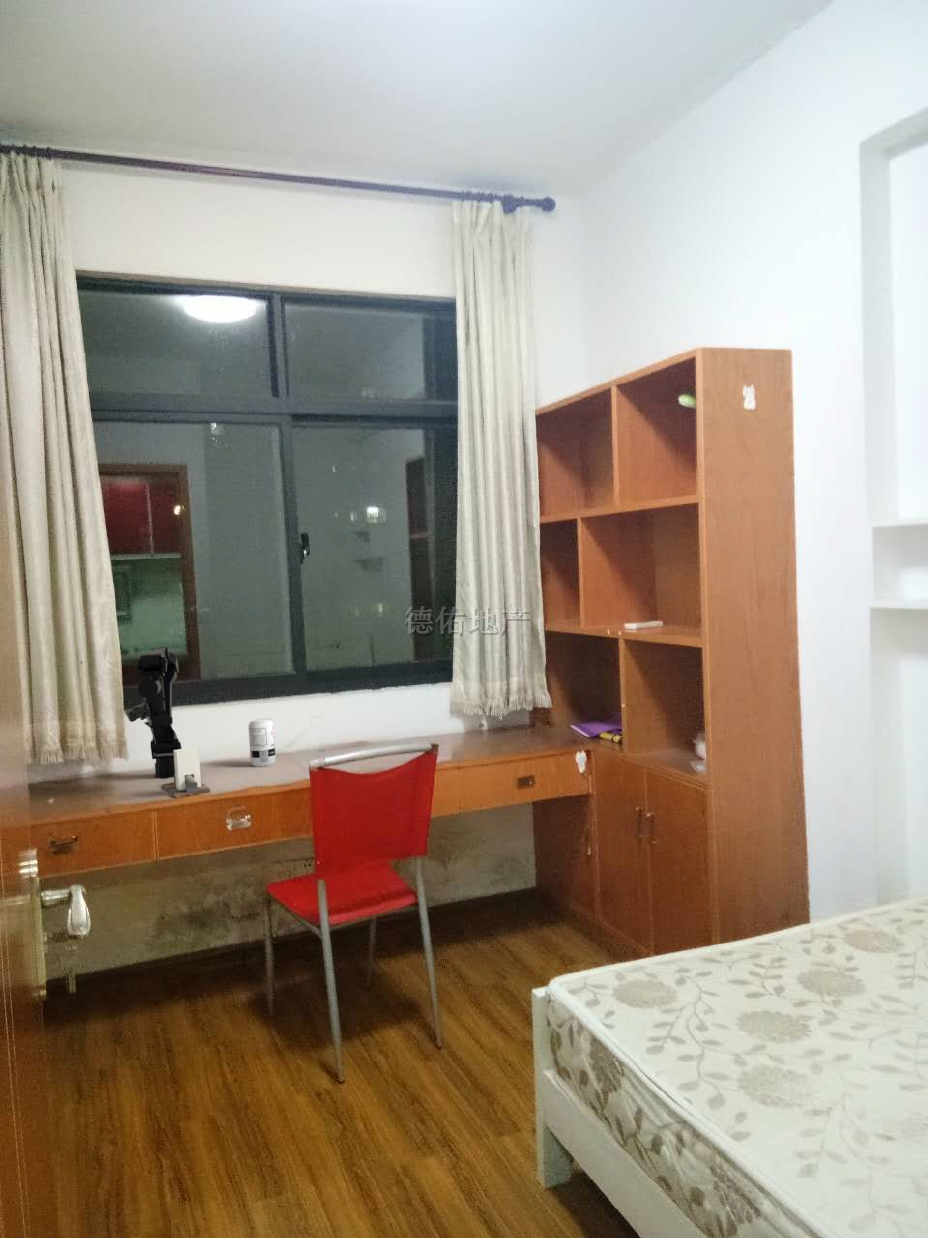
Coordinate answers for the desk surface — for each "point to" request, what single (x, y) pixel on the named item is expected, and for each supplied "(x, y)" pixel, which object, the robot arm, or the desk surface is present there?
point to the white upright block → (186, 766)
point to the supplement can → (262, 742)
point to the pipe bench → (190, 787)
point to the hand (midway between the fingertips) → (157, 745)
